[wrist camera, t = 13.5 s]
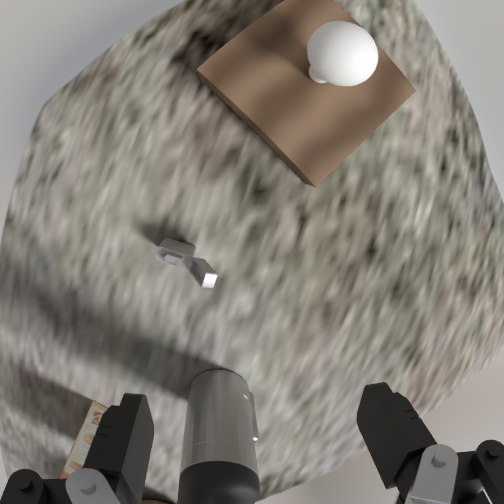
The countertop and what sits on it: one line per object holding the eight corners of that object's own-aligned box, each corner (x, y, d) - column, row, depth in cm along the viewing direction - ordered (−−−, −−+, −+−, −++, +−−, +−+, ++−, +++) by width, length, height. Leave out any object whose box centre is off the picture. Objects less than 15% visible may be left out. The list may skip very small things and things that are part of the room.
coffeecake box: (92, 399, 46) (56, 484, 27) (128, 417, 47) (103, 506, 28) (77, 438, 49) (49, 511, 30) (108, 454, 50) (87, 528, 32)
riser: (396, 96, 36) (415, 90, 31) (304, 183, 38) (315, 187, 33) (303, -1, 31) (312, -18, 26) (200, 80, 34) (196, 69, 29)
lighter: (161, 249, 39) (147, 271, 32) (165, 236, 39) (150, 255, 31) (215, 266, 40) (212, 291, 33) (219, 253, 40) (217, 276, 32)
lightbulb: (341, 105, 31) (388, 87, 20) (287, 94, 30) (314, 67, 20) (346, 56, 29) (391, 23, 19) (293, 44, 29) (320, 1, 18)
